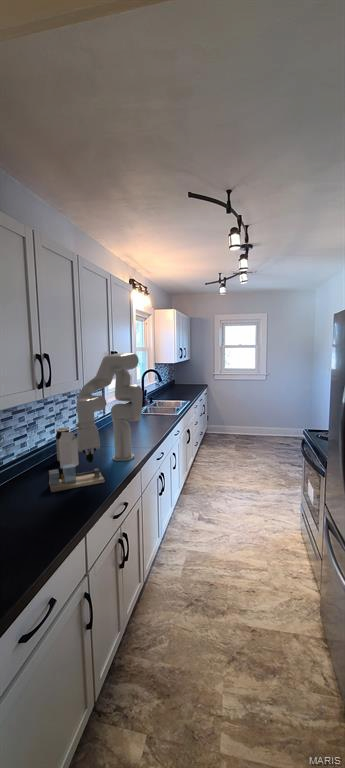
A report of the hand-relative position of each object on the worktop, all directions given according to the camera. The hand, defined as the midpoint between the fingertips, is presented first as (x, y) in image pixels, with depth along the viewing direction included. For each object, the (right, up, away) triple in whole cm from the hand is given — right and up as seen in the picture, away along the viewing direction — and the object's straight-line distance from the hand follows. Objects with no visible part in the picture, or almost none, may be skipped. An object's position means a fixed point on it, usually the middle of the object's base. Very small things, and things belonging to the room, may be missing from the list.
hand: (90, 461), depth 167 cm
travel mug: (-23, -7, +34) cm, 41 cm away
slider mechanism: (-6, -10, -3) cm, 11 cm away
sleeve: (-9, -8, -4) cm, 12 cm away
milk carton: (-16, -8, +21) cm, 28 cm away
